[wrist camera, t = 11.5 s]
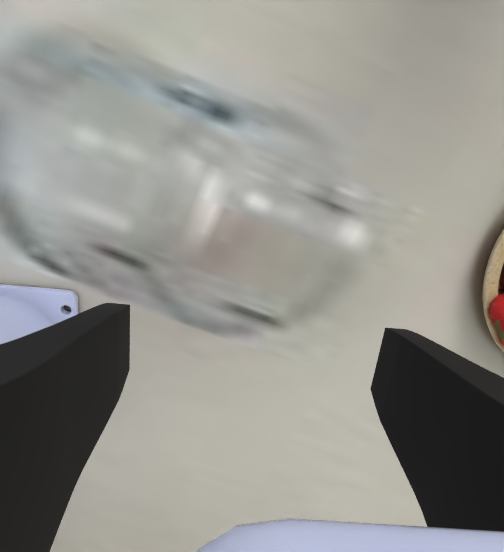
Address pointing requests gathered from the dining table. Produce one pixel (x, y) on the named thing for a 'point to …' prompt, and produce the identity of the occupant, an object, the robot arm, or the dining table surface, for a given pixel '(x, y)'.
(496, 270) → the toy food set
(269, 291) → the dining table surface
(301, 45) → the dining table surface
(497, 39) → the dining table surface
